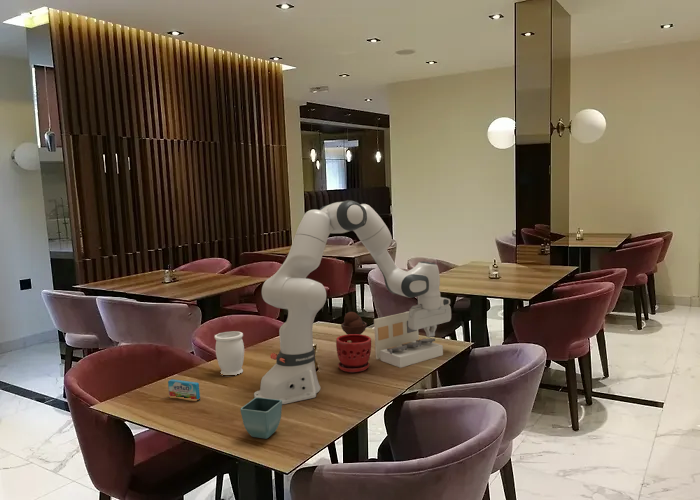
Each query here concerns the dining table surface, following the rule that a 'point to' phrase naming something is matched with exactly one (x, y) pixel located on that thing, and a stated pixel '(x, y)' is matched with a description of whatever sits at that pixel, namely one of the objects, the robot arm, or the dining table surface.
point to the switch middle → (411, 344)
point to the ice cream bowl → (353, 324)
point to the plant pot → (353, 352)
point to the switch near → (396, 348)
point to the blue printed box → (184, 389)
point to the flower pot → (261, 416)
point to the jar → (230, 352)
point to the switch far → (425, 340)
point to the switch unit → (401, 342)
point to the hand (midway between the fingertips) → (430, 336)
